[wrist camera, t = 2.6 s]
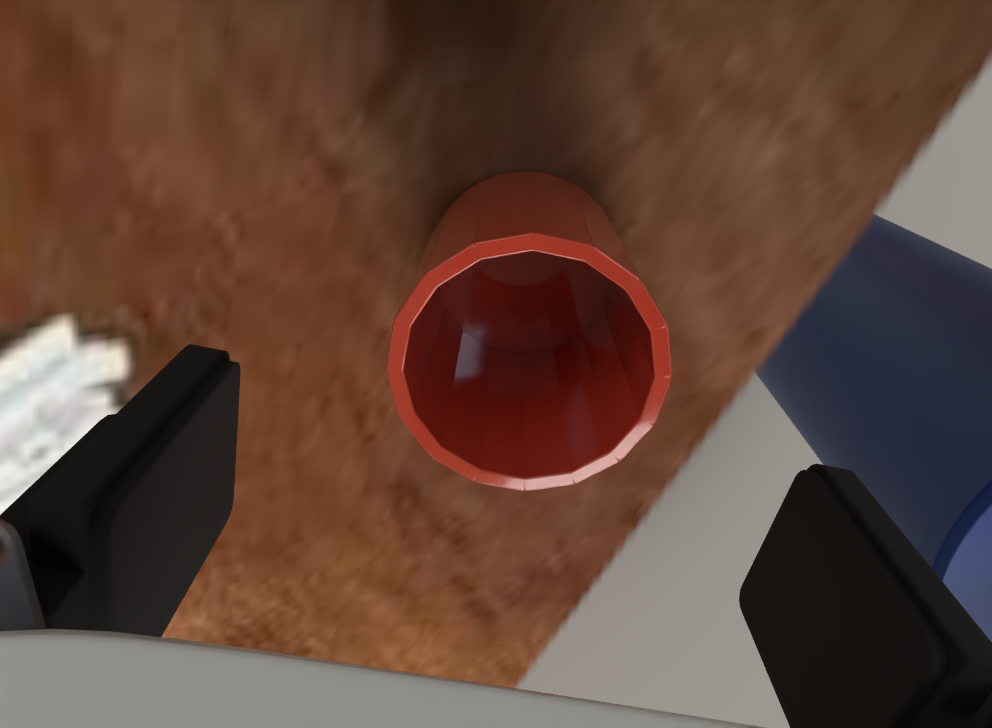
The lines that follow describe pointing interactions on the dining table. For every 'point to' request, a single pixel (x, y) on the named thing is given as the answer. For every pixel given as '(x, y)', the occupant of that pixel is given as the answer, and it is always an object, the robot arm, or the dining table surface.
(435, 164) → the dining table surface
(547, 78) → the dining table surface
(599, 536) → the dining table surface
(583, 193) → the cup
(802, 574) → the robot arm
